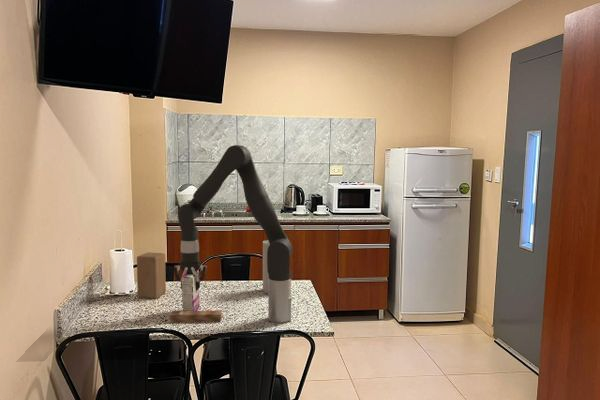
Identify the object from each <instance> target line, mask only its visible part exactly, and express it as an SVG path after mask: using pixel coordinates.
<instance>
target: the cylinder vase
mask: <svg viewBox="0 0 600 400" xmlns="http://www.w3.org/2000/svg"><path fill="white" fill-rule="evenodd" d="M269 245H270V243H269V241H268V239H267V240H263V241H262V292H263V293H264V294H267V295H268V293H269V275H268V271H267V250H268V247H269Z"/></svg>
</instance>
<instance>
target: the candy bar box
mask: <svg viewBox="0 0 600 400" xmlns="http://www.w3.org/2000/svg"><path fill="white" fill-rule="evenodd" d="M198 274H199V270H198ZM181 278H182V289H181V298H182V299H181V300H182V301H181V302H182V307H181V308H182V311H199V310H198V309H199V308H200V288H199V289H198V290H196V281H197V280H196V278H195V275H194V274H187V275H184V276H183V277H182V276H181Z"/></svg>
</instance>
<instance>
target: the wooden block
mask: <svg viewBox="0 0 600 400" xmlns="http://www.w3.org/2000/svg"><path fill="white" fill-rule="evenodd" d="M136 275H137V277H136V278H137V280H136V281H137V285H136V286H137V297H138V298H143V299H154V300H155V299H158V298H160V297H162V296H163V295H165V294H166V291H167V288H166V287H167V286H166V285H167V283H166V276H167V275H166V254H165V253H164V252H163V253H162V252H150V251H149V252H145V253H142V254H140V255H138V256H137V257H136Z"/></svg>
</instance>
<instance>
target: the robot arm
mask: <svg viewBox="0 0 600 400" xmlns="http://www.w3.org/2000/svg"><path fill="white" fill-rule="evenodd" d="M234 171H237V173H238V176H239V178H240V179H241V182H242V186H243V187H242V188H243V193H244V197H245V202H246V204H247V206H248V208H249V211H250V212H251V214H252V217H253V219H254V220H255V221H256V223H258V225H259V226H260V227H261V228H262V230H263V231H264V233H265V235H266V237H267V240H268V241H269V243H270V245H269V247H268V250H267V271H268V275H269V293H268V294H267V295H268V301H267V303H268V305H267V306H268V307H267V308H268V309H267V310H268V312H267V313H268V314H267V317H268V318H267V319H268V321H270V322H272V323H278V324H279V323H281V324H283V323H287V322H292V295H291V294H292V272H291V267H290V265H291V264H290V262H291V260H290V257H291V256H292V253H293V245H292V243H291V241H290V240H289V238H288V236H287V234H286V233H285V231H284V229H283V228H282V225H281V224H280V221H279V218H278V215H277V213H276V211H275V208H274V205H273V203H272V201H271V199H270V197H269V194H268V192H267V190H266V188H265V186H264V184H263V182H262V180H261V178H260V176H259V175H258V172H257V169H256V166H255V163H254V161H253V158H252V155H251V151H250V150H249V149H248V148H247V147H246V146H244V145H238V144H234V145H230V146H229V147H228V148H227V149H226V150H225V152H224V153H223V155H222V157H221V158H220V160H219V162H218V164H217V165H216V166H215V167H214V169H213V170H212V171H211V173H210V174H209V176H208V177H207V178H206V179H205V180H204V181H203V182H202V184H200V186H199V187H198V188H197V189H196V190H195V191H194V193H193V195H192V198H191V200H190V201H189V202H188V203H184V204H182V205H180V206H179V208H178V211H177V220H178V223H179V227H180V240H181V241H180V265H179V264H178V265H175V266H174V267H173V268H172V269H173V272H174V276H175V279H176V281H178V282H180V290H182V277H183V276H184V275H187V274H194V275H195V278H196V280H197V281H196V290H198V289H199V290H200V288H201V281H204V279H205V276H206V273H207V264H206V265H205V264H204V265H203V264H202V265H201V263H200V244H199V230H198V227H197V226H196V225H195V220H196V219H197V218H198V217H199V216H200V215H201V214H202V212H203V211H204V210H205V209H206V206H207V204H209V203H210V202H211V200H212V199H213V198H214V197H215V196H216V195H217V194H218V192H219V190H220V189H221V188H222V186H223V184H224V183H225V181H226V179H228V177H229V176H230V175H231V174H232V173H233V172H234ZM199 269H200V271H201V276H200V275H199V274H198V273H199V272H198V271H199ZM180 270H181V271H182V276H181V275H180V272H179V271H180Z"/></svg>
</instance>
